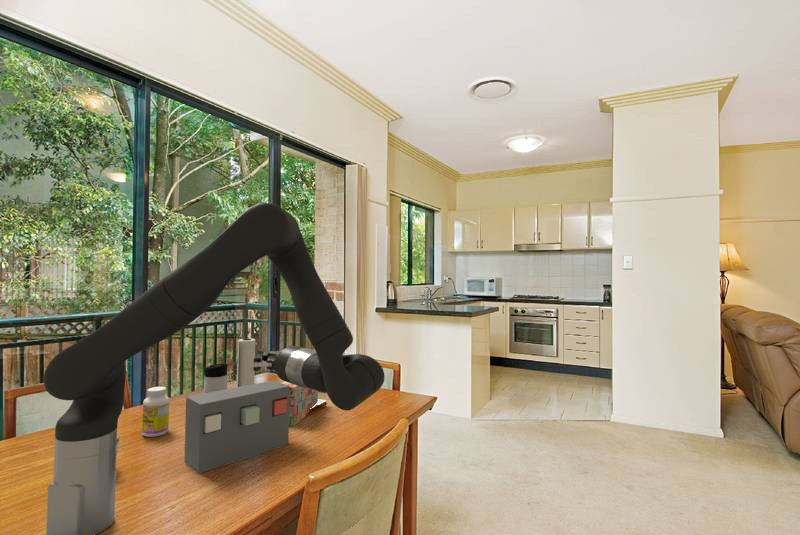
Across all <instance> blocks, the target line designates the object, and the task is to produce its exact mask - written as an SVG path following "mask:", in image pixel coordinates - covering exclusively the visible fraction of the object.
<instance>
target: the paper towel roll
mask: <svg viewBox="0 0 800 535" xmlns="http://www.w3.org/2000/svg"><path fill="white" fill-rule="evenodd" d="M255 356H256V339H255V338H240V339H238V340H237V364H236V365H237V366H236V367H237V369H236V370H237V371H236V387H241V386H246V385H252V384H255V370H253V362H254V357H255Z"/></svg>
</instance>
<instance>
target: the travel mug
mask: <svg viewBox="0 0 800 535" xmlns="http://www.w3.org/2000/svg"><path fill="white" fill-rule="evenodd" d="M228 367H229V364H228V363H216V364H211V365H209V366H205V367H204V374H203V375H204V376H203V394H204V393H209V392H215V391H220V390H225V389H228Z"/></svg>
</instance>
